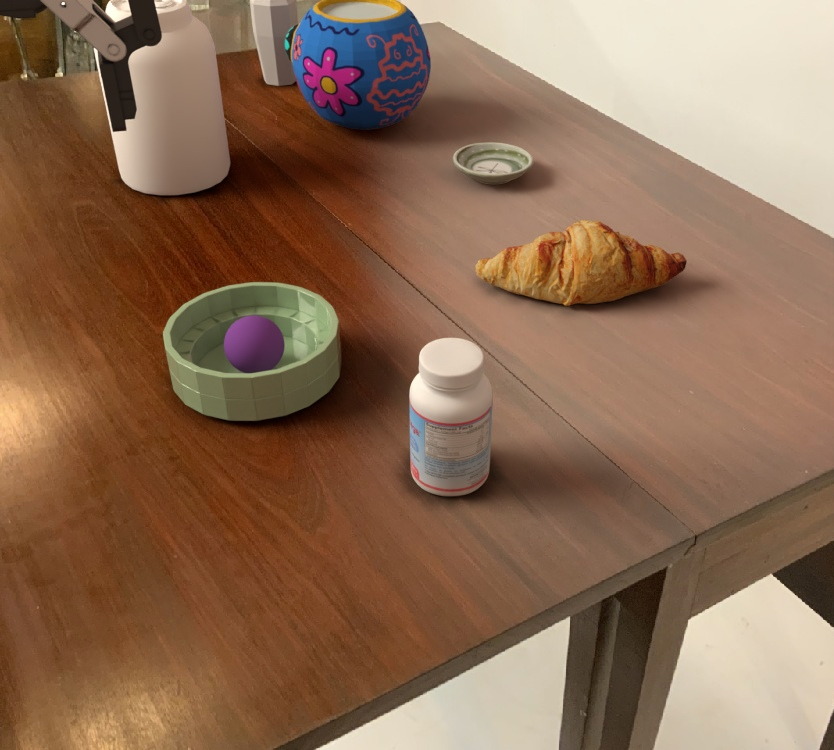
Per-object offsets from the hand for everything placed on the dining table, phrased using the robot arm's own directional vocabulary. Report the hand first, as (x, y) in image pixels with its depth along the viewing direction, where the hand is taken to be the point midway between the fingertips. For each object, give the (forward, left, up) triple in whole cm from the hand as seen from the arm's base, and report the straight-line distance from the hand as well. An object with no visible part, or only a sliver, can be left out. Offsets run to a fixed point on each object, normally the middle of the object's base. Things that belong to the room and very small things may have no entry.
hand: (32, 134), depth 50 cm
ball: (+11, +17, -27) cm, 34 cm away
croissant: (+44, +23, -30) cm, 58 cm away
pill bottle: (+23, 0, -30) cm, 38 cm away
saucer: (+44, +49, -30) cm, 72 cm away
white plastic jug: (+8, +59, -30) cm, 67 cm away
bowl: (+11, +17, -30) cm, 36 cm away
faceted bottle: (+25, +87, -30) cm, 95 cm away
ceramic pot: (+33, +69, -30) cm, 82 cm away
